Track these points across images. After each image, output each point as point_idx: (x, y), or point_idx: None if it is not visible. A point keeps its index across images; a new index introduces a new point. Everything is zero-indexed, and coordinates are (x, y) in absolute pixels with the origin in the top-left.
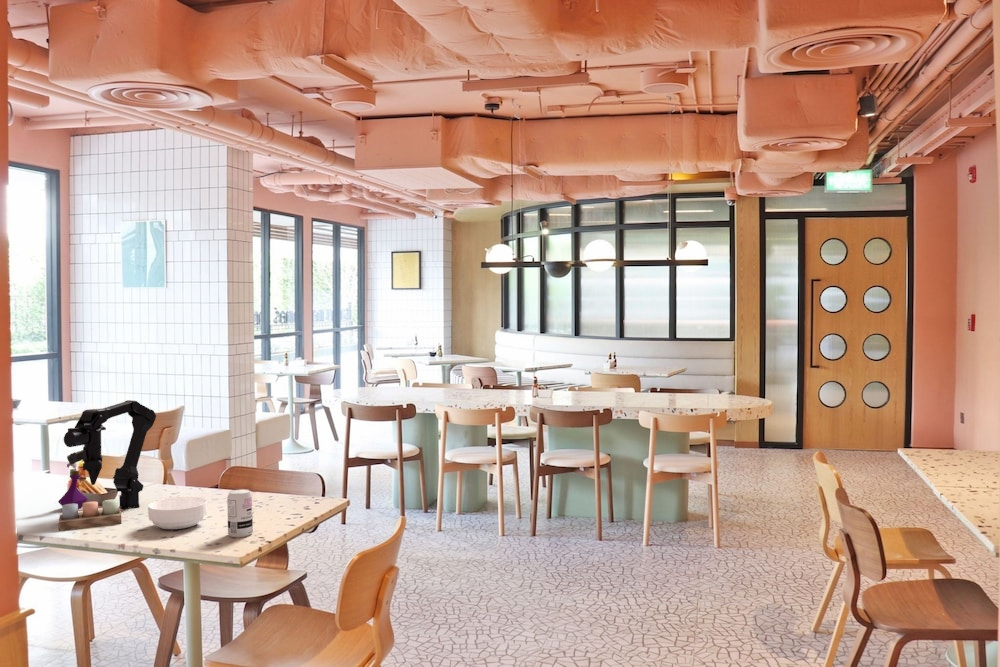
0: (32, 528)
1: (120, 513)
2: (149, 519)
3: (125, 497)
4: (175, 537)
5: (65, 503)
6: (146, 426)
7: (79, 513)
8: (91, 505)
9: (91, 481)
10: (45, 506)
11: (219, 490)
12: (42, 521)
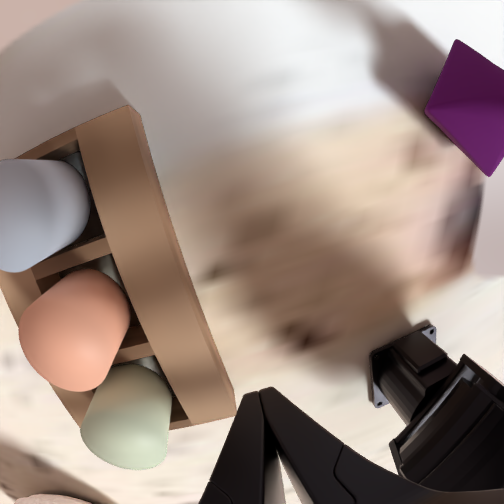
0: (64, 31)
1: None
2: (28, 498)
3: (404, 391)
4: (9, 498)
5: (441, 72)
6: None
7: (132, 229)
8: (33, 359)
9: (233, 431)
10: (475, 12)
11: None
12: (202, 13)
